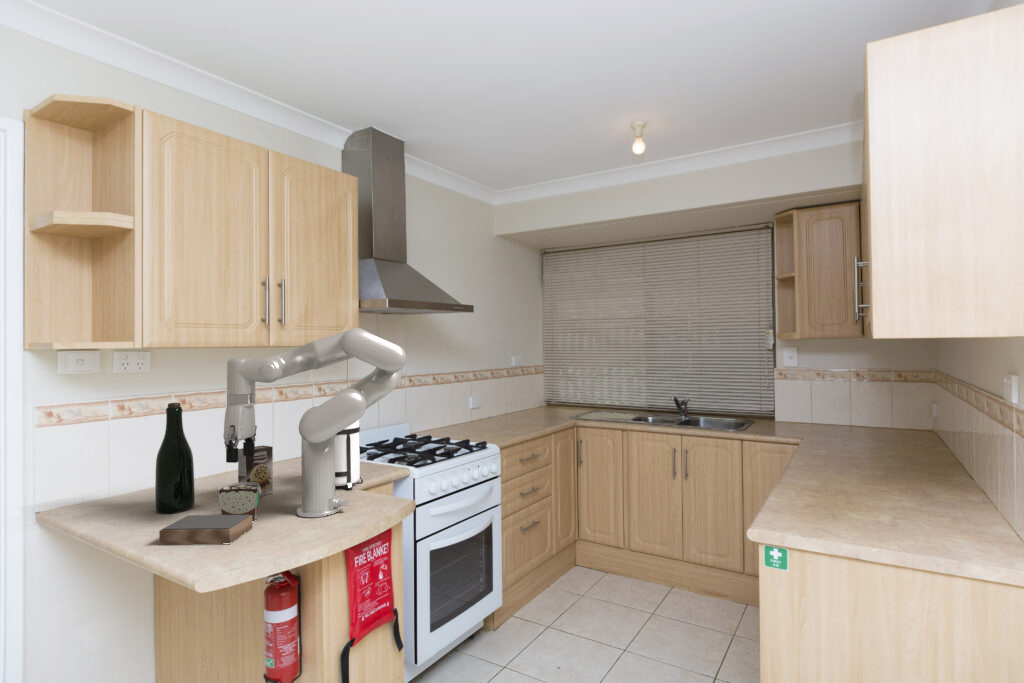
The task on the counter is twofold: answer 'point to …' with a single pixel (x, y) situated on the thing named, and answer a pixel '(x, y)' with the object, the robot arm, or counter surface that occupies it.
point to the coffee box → (257, 468)
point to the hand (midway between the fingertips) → (240, 458)
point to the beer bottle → (174, 467)
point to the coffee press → (347, 456)
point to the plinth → (205, 529)
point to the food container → (239, 499)
